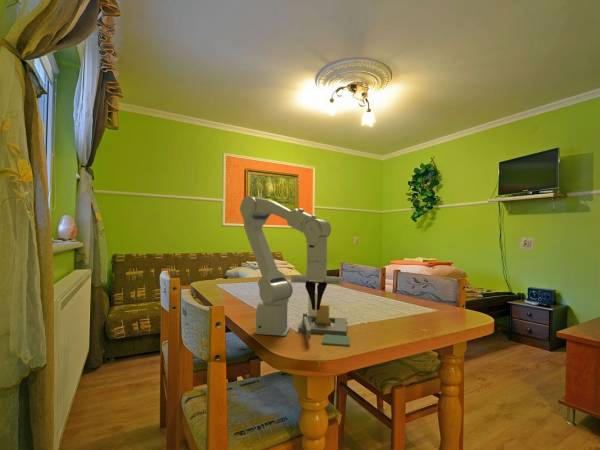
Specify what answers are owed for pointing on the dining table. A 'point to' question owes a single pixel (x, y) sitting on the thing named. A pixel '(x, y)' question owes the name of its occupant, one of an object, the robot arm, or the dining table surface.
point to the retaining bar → (306, 326)
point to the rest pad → (336, 340)
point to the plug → (323, 315)
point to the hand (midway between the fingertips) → (315, 309)
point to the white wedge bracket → (310, 311)
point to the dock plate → (337, 329)
